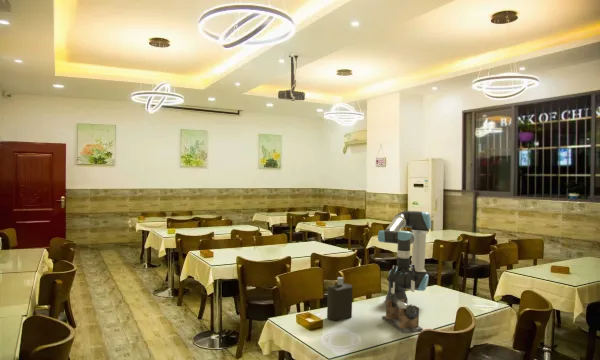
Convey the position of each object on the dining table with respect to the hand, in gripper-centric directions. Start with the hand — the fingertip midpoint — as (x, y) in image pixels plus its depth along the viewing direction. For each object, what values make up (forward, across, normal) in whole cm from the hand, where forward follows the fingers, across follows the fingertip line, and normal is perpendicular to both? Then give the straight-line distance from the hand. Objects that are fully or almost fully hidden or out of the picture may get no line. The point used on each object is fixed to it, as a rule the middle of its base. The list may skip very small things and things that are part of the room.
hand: (402, 292), depth 252 cm
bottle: (+20, -32, +20) cm, 43 cm away
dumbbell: (+8, 0, 0) cm, 8 cm away
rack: (+19, 0, 0) cm, 19 cm away
